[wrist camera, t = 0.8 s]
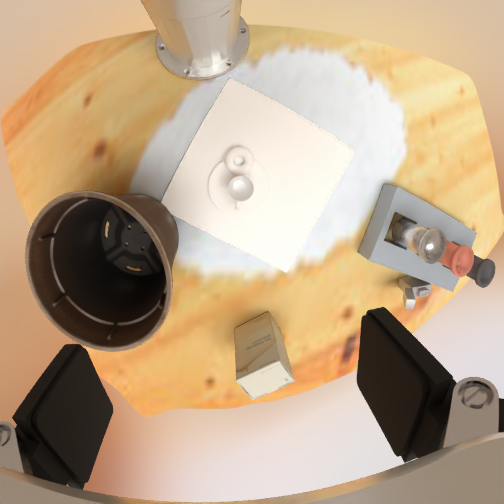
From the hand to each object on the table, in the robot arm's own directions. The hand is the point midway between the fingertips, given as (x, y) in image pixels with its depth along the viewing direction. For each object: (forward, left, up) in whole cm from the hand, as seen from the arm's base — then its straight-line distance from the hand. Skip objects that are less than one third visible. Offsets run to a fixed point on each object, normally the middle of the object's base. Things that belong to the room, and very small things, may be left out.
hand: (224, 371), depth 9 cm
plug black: (-6, +36, -28) cm, 47 cm away
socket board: (-6, +30, -32) cm, 44 cm away
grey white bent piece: (+2, +31, -33) cm, 45 cm away
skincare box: (+16, +10, -33) cm, 38 cm away
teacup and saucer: (-6, +3, -32) cm, 33 cm away
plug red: (-6, +30, -28) cm, 42 cm away
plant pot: (+7, -11, -33) cm, 35 cm away
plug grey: (-6, +23, -28) cm, 37 cm away
